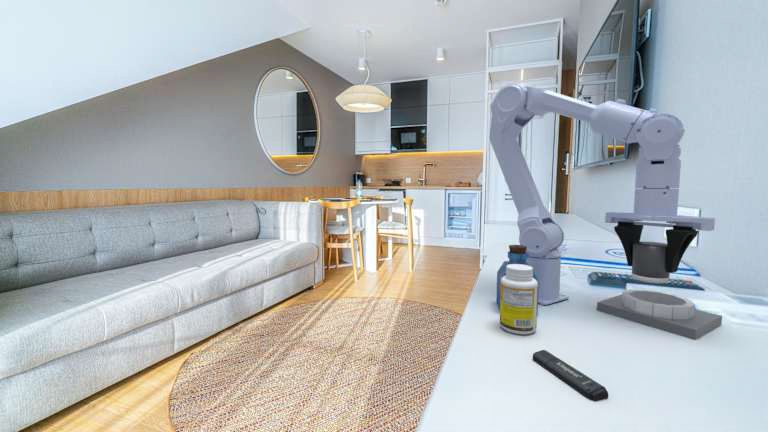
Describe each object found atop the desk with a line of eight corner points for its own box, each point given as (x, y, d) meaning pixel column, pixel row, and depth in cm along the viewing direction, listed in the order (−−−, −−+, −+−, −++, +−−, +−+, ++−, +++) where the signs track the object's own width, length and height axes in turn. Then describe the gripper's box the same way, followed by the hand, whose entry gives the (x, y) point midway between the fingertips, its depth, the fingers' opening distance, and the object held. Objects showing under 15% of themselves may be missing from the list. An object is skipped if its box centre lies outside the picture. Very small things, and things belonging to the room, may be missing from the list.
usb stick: (529, 361, 44) (530, 349, 44) (545, 358, 45) (546, 347, 45) (591, 405, 35) (592, 391, 35) (610, 401, 36) (611, 388, 36)
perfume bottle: (537, 316, 59) (540, 249, 58) (500, 314, 60) (502, 248, 59) (529, 304, 65) (531, 244, 64) (496, 302, 66) (498, 243, 65)
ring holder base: (596, 310, 61) (597, 291, 61) (626, 300, 67) (627, 283, 67) (695, 339, 49) (697, 317, 49) (721, 324, 55) (723, 304, 55)
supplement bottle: (513, 319, 57) (515, 261, 56) (543, 330, 53) (546, 267, 52) (492, 326, 54) (493, 265, 53) (522, 339, 50) (524, 272, 49)
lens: (625, 277, 58) (627, 243, 57) (640, 273, 60) (642, 240, 59) (660, 284, 53) (662, 248, 53) (674, 279, 55) (676, 244, 55)
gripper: (597, 188, 60) (594, 262, 61) (704, 188, 47) (697, 281, 48) (618, 188, 63) (614, 258, 64) (722, 188, 51) (715, 275, 52)
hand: (651, 268), depth 57 cm, fingers closed on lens, 5 cm apart
